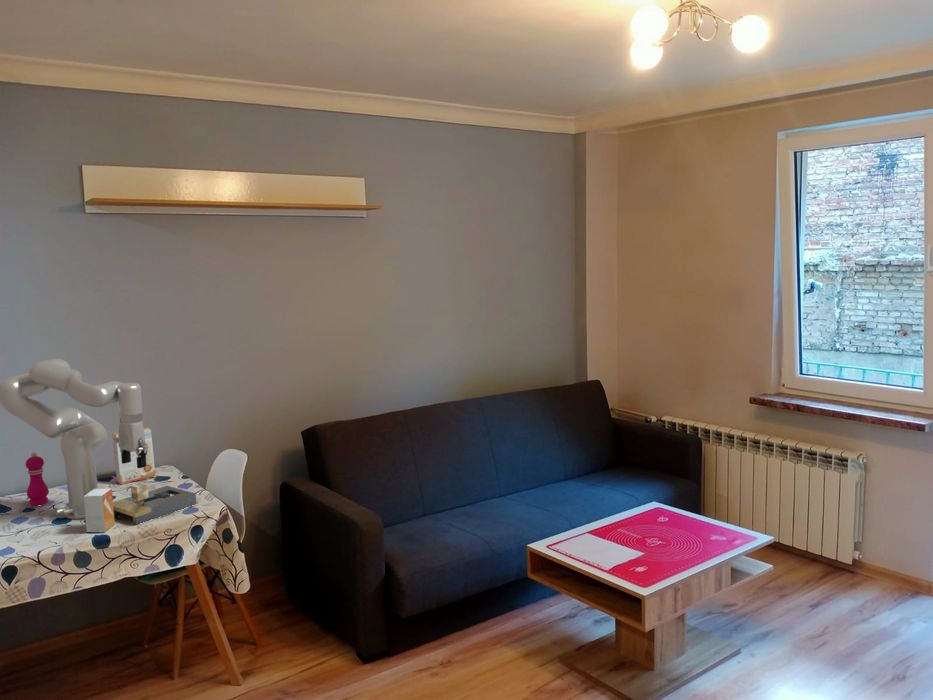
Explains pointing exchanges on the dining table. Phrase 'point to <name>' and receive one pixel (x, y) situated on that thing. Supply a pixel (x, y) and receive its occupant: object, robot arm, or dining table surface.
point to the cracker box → (134, 462)
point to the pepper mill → (36, 481)
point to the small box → (99, 510)
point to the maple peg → (139, 492)
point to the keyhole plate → (155, 504)
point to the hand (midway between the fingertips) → (134, 465)
